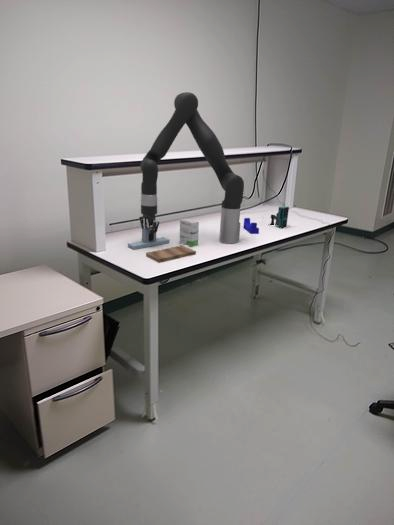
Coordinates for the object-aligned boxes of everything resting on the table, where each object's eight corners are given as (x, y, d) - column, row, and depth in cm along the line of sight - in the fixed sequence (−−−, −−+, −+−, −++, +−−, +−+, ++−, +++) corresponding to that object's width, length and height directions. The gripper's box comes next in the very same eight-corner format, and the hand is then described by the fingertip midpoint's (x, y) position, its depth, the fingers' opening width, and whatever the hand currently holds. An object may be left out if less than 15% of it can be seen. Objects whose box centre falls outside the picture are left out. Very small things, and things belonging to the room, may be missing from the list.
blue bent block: (258, 234, 218) (259, 223, 216) (250, 234, 217) (251, 223, 215) (250, 228, 229) (251, 217, 227) (243, 228, 228) (244, 218, 226)
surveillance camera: (274, 203, 236) (289, 206, 230) (272, 223, 240) (286, 227, 234) (269, 204, 232) (284, 208, 226) (267, 225, 236) (281, 228, 230)
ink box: (198, 245, 194) (199, 221, 190) (191, 247, 190) (192, 222, 186) (186, 241, 199) (186, 217, 195) (178, 242, 196) (179, 219, 192)
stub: (163, 240, 198) (163, 225, 196) (169, 242, 195) (169, 227, 192) (128, 246, 186) (127, 230, 184) (133, 249, 183) (133, 233, 180)
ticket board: (182, 248, 187) (182, 245, 187) (195, 254, 180) (196, 250, 180) (146, 256, 175) (146, 252, 175) (159, 262, 168) (159, 258, 168)
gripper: (164, 205, 181) (164, 242, 187) (147, 200, 191) (147, 235, 197) (150, 207, 177) (150, 244, 182) (133, 201, 187) (134, 237, 192)
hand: (149, 239), depth 190 cm, fingers closed on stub, 3 cm apart
